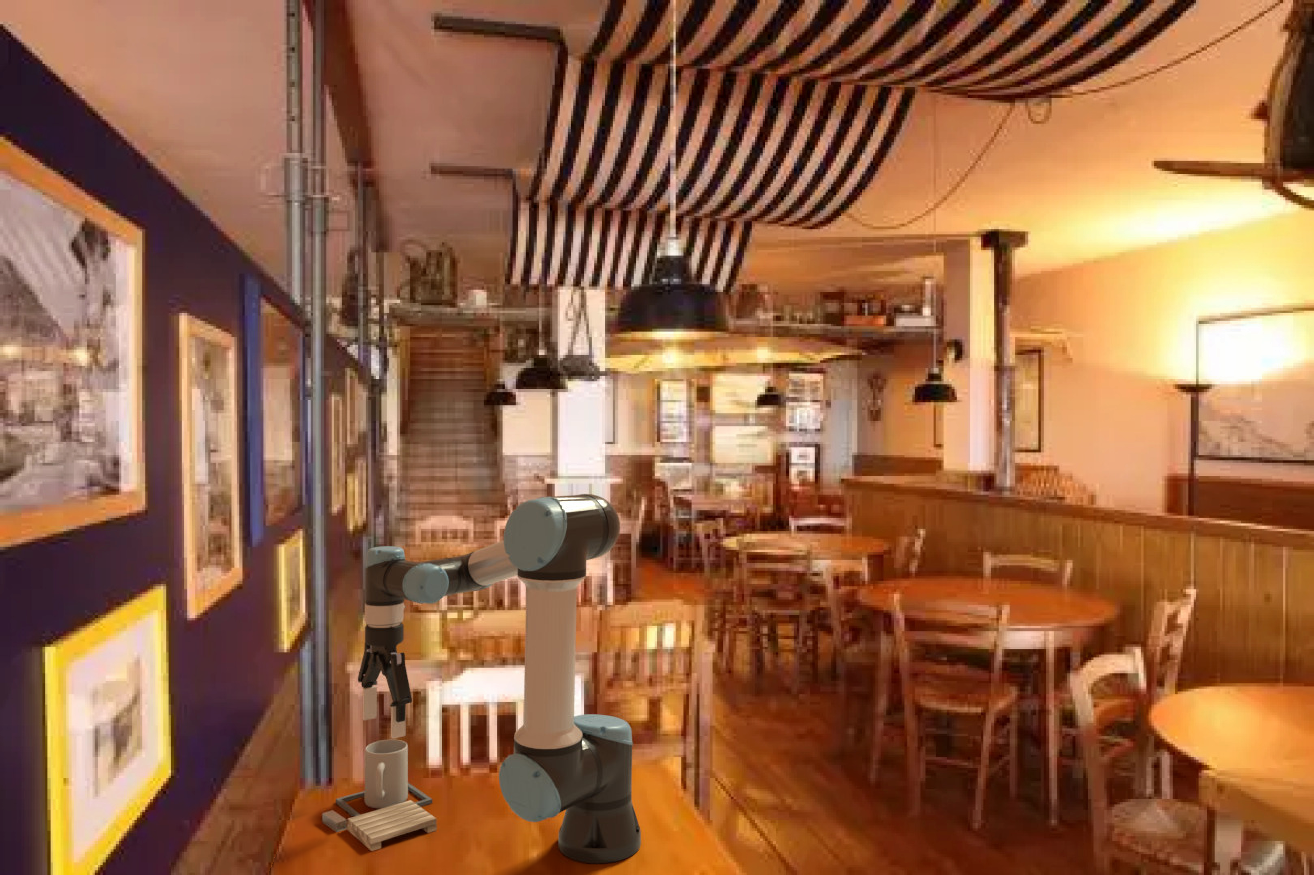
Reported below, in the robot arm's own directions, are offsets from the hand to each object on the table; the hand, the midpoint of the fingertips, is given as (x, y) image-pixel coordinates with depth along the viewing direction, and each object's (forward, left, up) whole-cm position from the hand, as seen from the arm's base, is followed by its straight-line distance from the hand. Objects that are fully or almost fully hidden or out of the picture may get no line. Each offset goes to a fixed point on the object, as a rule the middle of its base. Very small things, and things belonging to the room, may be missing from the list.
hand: (383, 727), depth 180 cm
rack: (-13, +4, -15) cm, 20 cm away
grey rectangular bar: (-4, +11, -16) cm, 20 cm away
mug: (-1, 0, -16) cm, 16 cm away
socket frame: (0, 0, -15) cm, 15 cm away
